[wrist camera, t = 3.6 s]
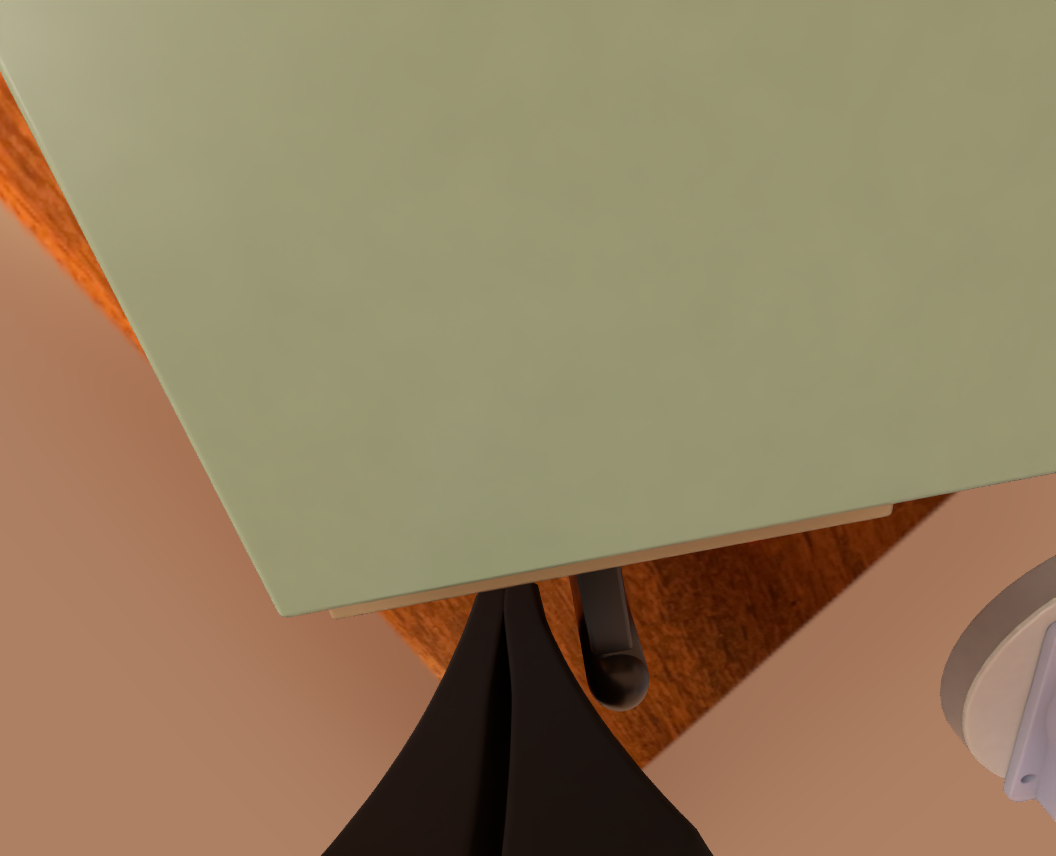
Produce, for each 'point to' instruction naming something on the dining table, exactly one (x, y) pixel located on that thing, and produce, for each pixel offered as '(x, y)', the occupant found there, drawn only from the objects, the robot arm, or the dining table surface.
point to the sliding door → (611, 604)
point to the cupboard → (563, 262)
